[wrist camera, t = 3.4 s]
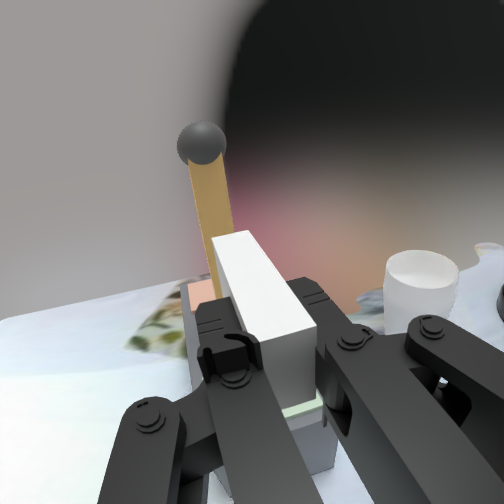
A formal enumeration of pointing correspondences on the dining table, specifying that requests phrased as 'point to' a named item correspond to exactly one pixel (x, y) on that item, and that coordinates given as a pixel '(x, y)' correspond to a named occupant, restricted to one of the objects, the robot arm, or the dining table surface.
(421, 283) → the cup
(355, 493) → the dining table surface
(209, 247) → the lever
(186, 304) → the breaker box
